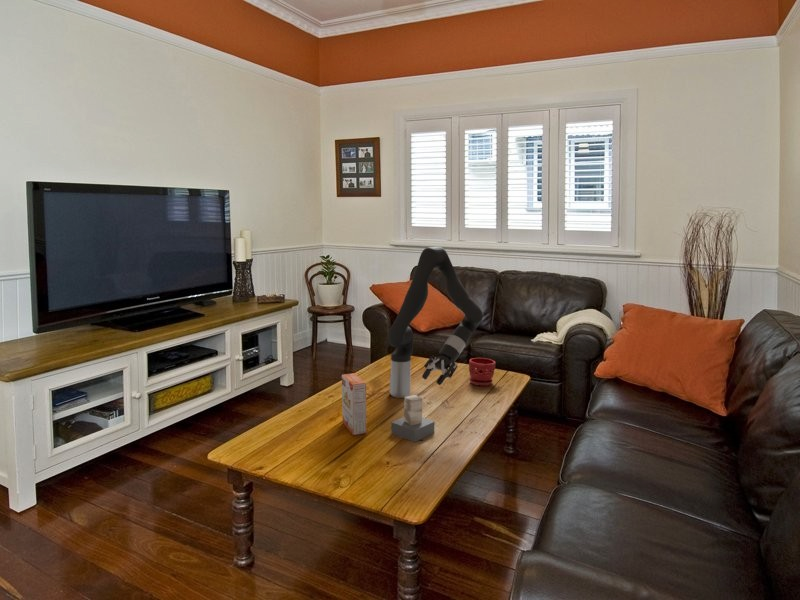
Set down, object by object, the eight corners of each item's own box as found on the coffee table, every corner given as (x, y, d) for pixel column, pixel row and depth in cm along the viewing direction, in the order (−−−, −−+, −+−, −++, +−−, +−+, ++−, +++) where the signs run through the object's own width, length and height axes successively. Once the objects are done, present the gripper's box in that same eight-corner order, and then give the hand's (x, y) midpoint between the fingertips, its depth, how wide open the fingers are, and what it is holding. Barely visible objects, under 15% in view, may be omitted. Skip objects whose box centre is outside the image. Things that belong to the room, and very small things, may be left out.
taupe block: (404, 421, 214) (404, 396, 213) (414, 418, 217) (415, 394, 215) (411, 425, 210) (411, 400, 209) (421, 423, 213) (422, 398, 211)
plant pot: (488, 389, 268) (489, 365, 266) (464, 384, 275) (464, 361, 273) (498, 382, 279) (499, 359, 277) (475, 377, 286) (475, 355, 284)
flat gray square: (391, 434, 214) (391, 422, 213) (411, 425, 223) (411, 413, 222) (414, 443, 206) (414, 430, 205) (434, 433, 215) (434, 421, 214)
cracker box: (341, 423, 224) (341, 374, 220) (355, 421, 226) (355, 372, 223) (352, 436, 211) (351, 384, 208) (366, 433, 213) (366, 382, 210)
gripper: (435, 340, 225) (414, 371, 220) (460, 347, 214) (437, 380, 209) (445, 350, 230) (423, 381, 224) (469, 358, 219) (447, 390, 213)
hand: (430, 381), depth 217 cm, fingers open, 8 cm apart
